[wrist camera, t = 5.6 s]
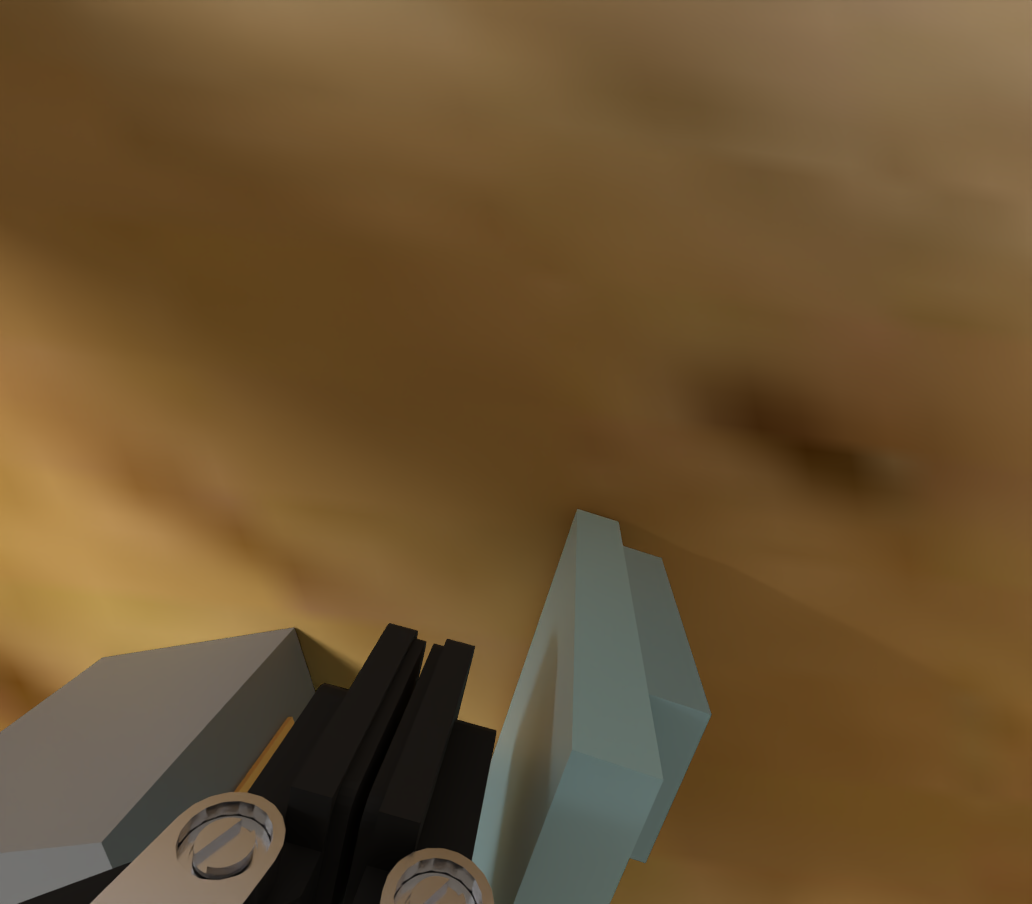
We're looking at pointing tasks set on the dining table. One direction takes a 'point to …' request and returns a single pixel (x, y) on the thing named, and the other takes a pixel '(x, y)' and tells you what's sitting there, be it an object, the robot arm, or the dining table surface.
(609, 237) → the dining table surface
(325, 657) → the dining table surface
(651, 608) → the side door
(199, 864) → the robot arm
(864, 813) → the dining table surface
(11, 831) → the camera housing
